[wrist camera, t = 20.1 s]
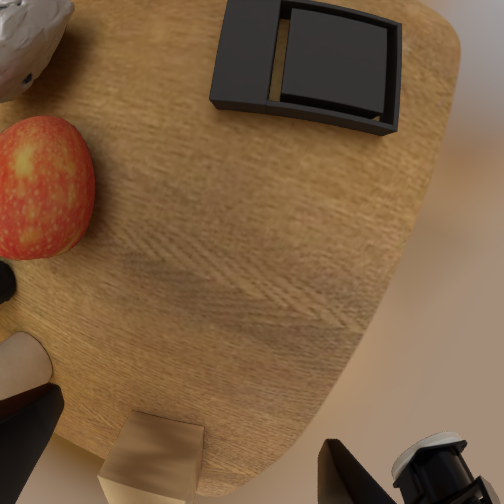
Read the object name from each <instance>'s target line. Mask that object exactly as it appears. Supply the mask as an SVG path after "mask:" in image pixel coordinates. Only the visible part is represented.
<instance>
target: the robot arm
mask: <svg viewBox="0 0 504 504" xmlns="http://www.w3.org/2000/svg"><path fill="white" fill-rule="evenodd" d="M63 409H64V399H63V396H62V392H61V388H60V387H59V386H58V385H56V384H54V383H51V382H48V383H45V384H43V385H40V386H38V387H35V388H32V389H30V390H27V391H24V392H22V393H19V394H16V395H14V396H11V397H8V398H6V399H3V400H0V504H15V503H16V501H17V499H18V497H19V495H20V493H21V491H22V489H23V487H24V486H25V484H26V482H27V480H28V478H29V476H30V474H31V473H32V471H33V469H34V467H35V465H36V463H37V461H38V460H39V458H40V456H41V454H42V453H43V451H44V449H45V447H46V446H47V444H48V442H49V440H50V438H51V436H52V434H53V431H54V429H55V427H56V425H57V422H58V420H59V418H60V415H61V413H62V411H63ZM466 445H467V442H466V440H462V441H457V442H452V443H446V444H440V445H434V446H427V447H421V448H419V449H418V450H417V451H416V452H415V453H414V455H413V456H412V458H411V459H410V461H409V462H408V464H407V465H406V467H405V468H404V469H403V471H402V472H401V474H400V475H399V476H398V478H397V479H396V480H395V482H394V483H393V487H394V488H400V491H401V494H402V497H403V500H404V503H405V504H500V501H499V498H498V496H497V494H496V493H495V491H494V489H493V488H492V486H491V484H490V483H489V482H488V481H486V480H485V479H484V478H483V477H482V476H478V477H477V478H476V480H475V479H474V478H473V476H472V474H471V472H470V470H469V468H468V467H467V465H466V463H465V461H464V459H463V457H462V456H461V453H462V451H463V450H464V448H465V447H466ZM481 496H483V498H482V499H479V498H480V497H481ZM318 504H397V503H396V502H395V501H394V500H393V499H392V498H391V497H390V496H389V495H388V494H387V493H386V492H385V491H384V490H383V489H382V487H381V486H380V485H379V484H378V483H377V482H376V481H375V480H374V479H373V478H372V476H370V474H369V473H368V472H367V471H366V470H365V469H364V468H363V466H362V465H361V464H360V463H359V462H358V461H357V460H356V459H355V457H354V456H353V455H352V454H351V453H350V452H349V451H348V449H346V447H345V446H344V445H343V444H342V443H341V442H340V440H338V439H326V440H325V441H324V443H323V446H322V448H321V450H320V452H319V455H318Z"/></svg>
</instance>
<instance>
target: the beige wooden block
mask: <svg viewBox="0 0 504 504" xmlns="http://www.w3.org/2000/svg"><path fill="white" fill-rule="evenodd" d="M203 435H204V427H203V426H198V425H193V424H188V423H183V422H178V421H174V420H169V419H165V418H161V417H156V416H152V415H148V414H145V413H141V412H137V411H133V410H132V411H131V413H130V415H129V417H128V419H127V421H126V422H125V424H124V426H123V428H122V430H121V432H120V434H119V436H118V437H117V439H116V441H115V443H114V445H113V447H112V449H111V451H110V452H109V454H108V456H107V458H106V460H105V462H104V464H103V466H102V468H101V470H100V472H99V474H98V479H99V481H100V484H101V486H102V489H103V491H104V493H105V496H106V498H107V500H108V503H109V504H193V503H194V499H195V495H196V490H197V486H198V481H199V477H200V472H201V468H202V451H203Z"/></svg>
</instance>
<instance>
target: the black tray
mask: <svg viewBox="0 0 504 504" xmlns="http://www.w3.org/2000/svg"><path fill="white" fill-rule="evenodd" d="M292 8H294V9H301V10H307V11H313V12H319V13H324V14H329V15H334V16H339V17H343V18H348V19H352V20H356V21H360V22H364V23H367V24H371V25H375V26H378V27H382V28H385V29H387V58H386V81H385V96H384V109H383V114H381V115H380V121H375V120H371V119H367V118H363V117H358V116H354V115H350V114H345V113H340V112H336V111H331V110H326V109H320V108H315V107H309V106H303V105H297V104H291V103H284V102H277V101H270V100H268V99H269V92H270V85H271V78H272V70H273V63H274V56H275V49H276V42H277V35H278V28H279V21H280V18H283V19H290V18H291V10H292ZM401 66H402V24H401V23H398V22H395V21H392V20H389V19H386V18H383V17H379V16H376V15H372V14H369V13H365V12H361V11H358V10H354V9H350V8H345V7H341V6H336V5H332V4H327V3H322V2H316V1H311V0H228V1H227V6H226V11H225V15H224V20H223V25H222V30H221V35H220V40H219V45H218V51H217V56H216V62H215V67H214V73H213V79H212V85H211V91H210V97H209V100H210V101H211V102H212V104H213V105H214V106H215V107H216V109H223V110H234V111H244V112H253V113H261V114H268V115H276V116H283V117H290V118H296V119H302V120H308V121H314V122H319V123H325V124H330V125H335V126H340V127H345V128H349V129H354V130H358V131H363V132H367V133H371V134H375V135H379V136H384V135H387V134H391V133H394V132H397V129H398V118H399V106H400V90H401Z"/></svg>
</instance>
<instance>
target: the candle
mask: <svg viewBox="0 0 504 504" xmlns="http://www.w3.org/2000/svg"><path fill="white" fill-rule="evenodd" d="M51 375H52V365H51V362H50V359H49V357H48V355H47V353H46V351H45V350H44V348H43V347H42V346H41V344H40V343H39V342H38V341H37V340H36V339H35V338H33V337H32V336H31V335H29V334H27V333H25V332H17V333H14V334H13V335H11V336H10V337H8V338H7V339H6V340H4V341H3V342H2V343H0V400H3V399H6V398H8V397H11V396H14V395H16V394H19V393H22V392H24V391H27V390H30V389H32V388H35V387H38V386H40V385H43V384H45V383H47V382H48V381H49V379H50V378H51Z"/></svg>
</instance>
